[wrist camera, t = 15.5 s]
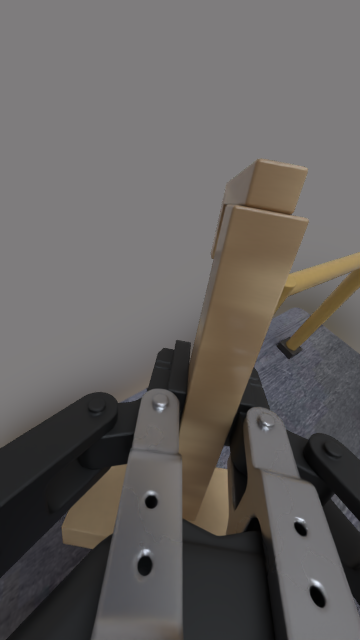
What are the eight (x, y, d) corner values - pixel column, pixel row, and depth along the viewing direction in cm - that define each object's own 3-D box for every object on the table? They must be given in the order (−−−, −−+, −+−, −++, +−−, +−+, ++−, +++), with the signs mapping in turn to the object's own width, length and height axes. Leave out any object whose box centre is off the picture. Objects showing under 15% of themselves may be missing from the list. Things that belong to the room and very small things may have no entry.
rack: (193, 419, 30) (287, 296, 15) (180, 399, 32) (254, 267, 16) (298, 353, 43) (407, 248, 28) (286, 340, 44) (383, 234, 29)
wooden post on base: (245, 429, 19) (341, 203, 12) (275, 583, 11) (602, 204, 4) (118, 406, 19) (136, 164, 12) (62, 544, 11) (15, 93, 4)
